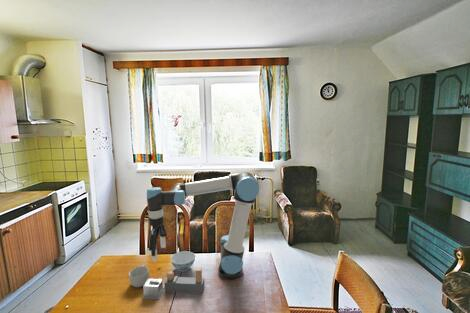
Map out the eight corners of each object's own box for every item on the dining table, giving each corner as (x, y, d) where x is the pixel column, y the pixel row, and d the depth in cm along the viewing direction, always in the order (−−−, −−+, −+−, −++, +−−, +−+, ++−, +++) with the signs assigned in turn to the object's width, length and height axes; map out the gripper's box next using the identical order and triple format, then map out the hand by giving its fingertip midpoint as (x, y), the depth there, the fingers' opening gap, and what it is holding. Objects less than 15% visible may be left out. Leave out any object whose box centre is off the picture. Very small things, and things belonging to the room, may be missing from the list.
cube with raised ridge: (162, 289, 142) (162, 277, 141) (158, 297, 136) (157, 285, 135) (148, 288, 143) (148, 276, 142) (143, 296, 136) (143, 284, 135)
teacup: (143, 291, 141) (142, 277, 140) (125, 288, 143) (124, 275, 142) (155, 276, 155) (155, 263, 154) (139, 274, 157) (138, 261, 156)
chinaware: (198, 263, 168) (198, 252, 167) (190, 276, 154) (190, 265, 153) (177, 261, 171) (176, 250, 170) (167, 274, 156) (166, 262, 155)
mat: (164, 288, 143) (164, 287, 143) (158, 299, 135) (158, 298, 135) (148, 287, 144) (148, 287, 144) (141, 298, 135) (141, 298, 135)
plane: (204, 286, 145) (203, 266, 143) (202, 292, 140) (201, 272, 138) (168, 284, 147) (167, 265, 145) (164, 291, 141) (163, 270, 139)
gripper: (157, 208, 149) (160, 242, 152) (139, 226, 124) (143, 267, 127) (170, 208, 148) (172, 242, 151) (154, 226, 124) (158, 267, 127)
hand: (159, 253), depth 139 cm, fingers open, 13 cm apart
